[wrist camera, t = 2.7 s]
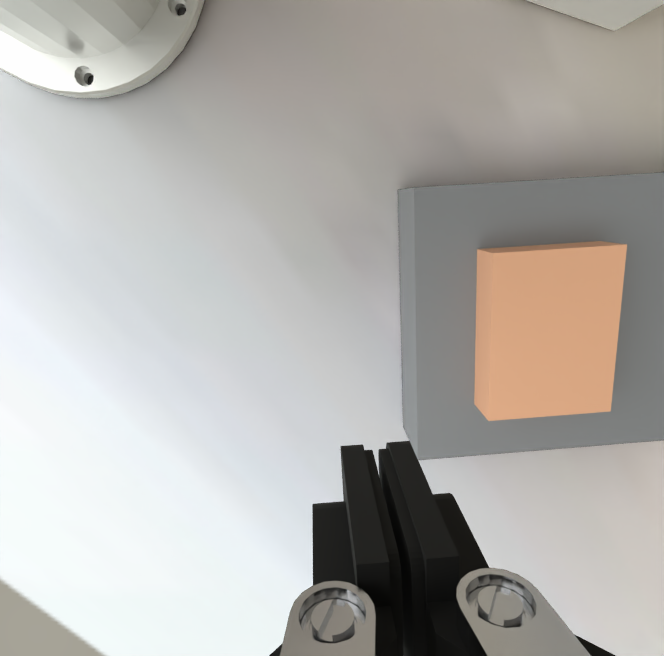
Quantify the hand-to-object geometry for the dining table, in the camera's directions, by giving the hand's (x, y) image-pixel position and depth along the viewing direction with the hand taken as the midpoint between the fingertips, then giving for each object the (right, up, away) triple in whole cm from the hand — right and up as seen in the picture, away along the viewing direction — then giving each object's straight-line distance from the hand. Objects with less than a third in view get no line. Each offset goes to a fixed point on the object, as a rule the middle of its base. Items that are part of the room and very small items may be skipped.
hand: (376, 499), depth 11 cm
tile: (+9, +4, +12) cm, 16 cm away
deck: (+11, +5, +16) cm, 20 cm away
